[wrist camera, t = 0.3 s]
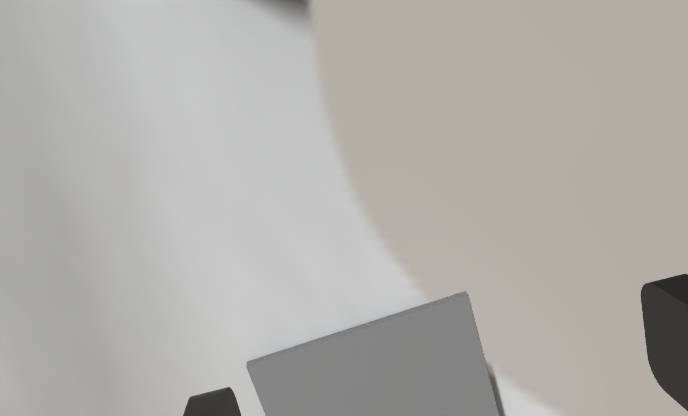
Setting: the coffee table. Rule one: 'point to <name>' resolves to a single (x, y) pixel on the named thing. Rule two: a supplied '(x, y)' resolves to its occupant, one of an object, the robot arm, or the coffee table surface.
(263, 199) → the coffee table surface
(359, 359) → the mat
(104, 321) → the coffee table surface
